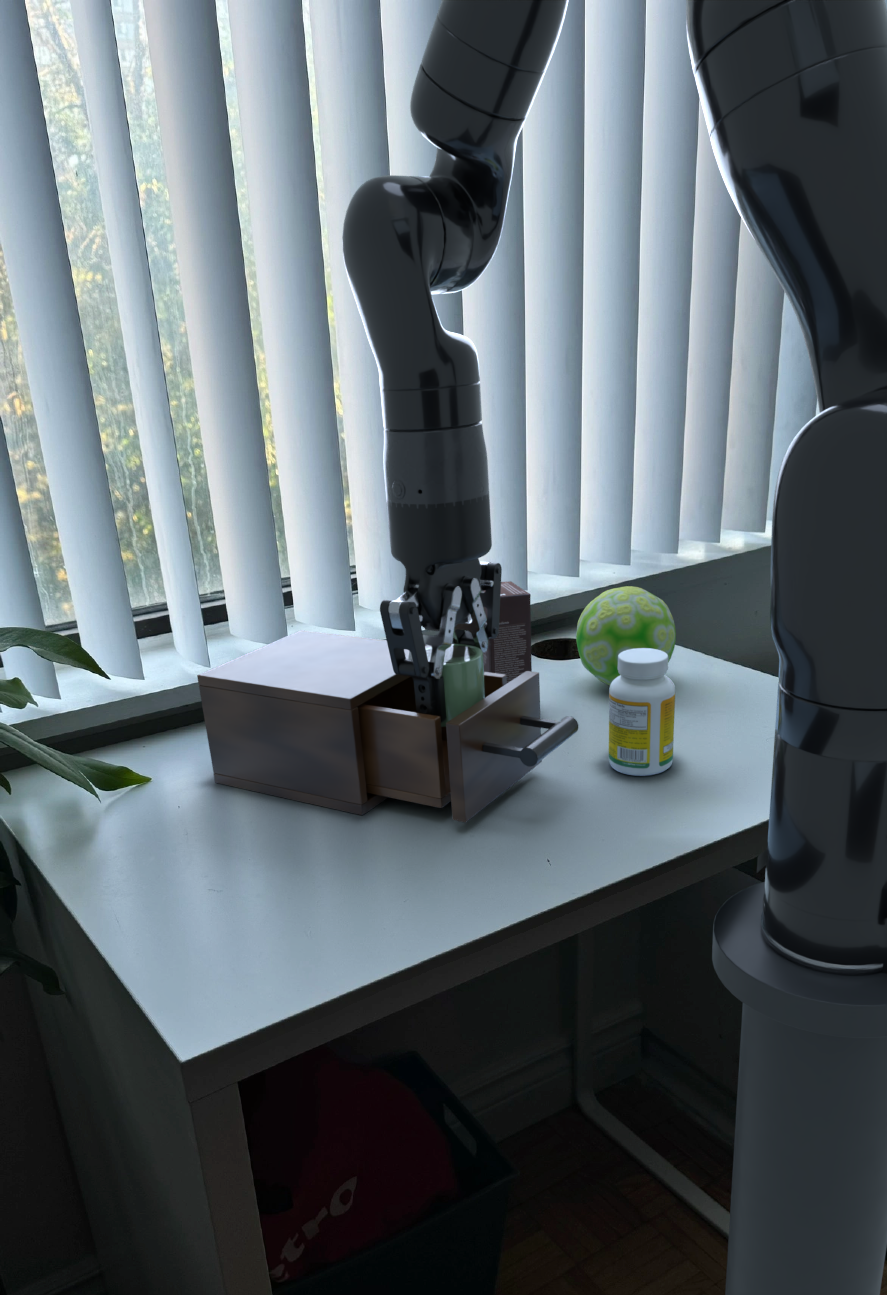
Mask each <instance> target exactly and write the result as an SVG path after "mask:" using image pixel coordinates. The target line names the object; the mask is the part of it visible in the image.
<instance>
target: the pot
mask: <svg viewBox="0 0 887 1295" xmlns="http://www.w3.org/2000/svg"><path fill="white" fill-rule="evenodd" d="M425 649H426V654H427V658H428V662H430V659H431V652H432V647H428V648H425ZM441 676H443V678H444V692H445V705H446V720H445V721H443V722H442V723H441V727H446V723H447V722H448V721H450V720H451V719H453V718H454V717H456V716H457V715H459V714H461V713H462V712H464V711H465V710H467V709H468V708H470V707H471V706H473V705H475V704H476V703H478V702H479V701H481V700H482V699H484V698H485V680H484V663H483V652H482V650H481V649H480V648H478V647H475V646H471V645H464V644H454V643H452V645H451V647H449V648H447V649H446V651H445V657H444V665H443V672H442V675H441Z"/></svg>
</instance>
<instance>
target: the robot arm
mask: <svg viewBox="0 0 887 1295" xmlns="http://www.w3.org/2000/svg"><path fill="white" fill-rule="evenodd" d="M568 4H569V0H441V1H440V4H439V7H438V10H437V13H436V16H435V19H434V21H433V25H432V28H431V31H430V34H429V37H428V40H427V42H426V45H425V49H424V51H423V55H422V58H421V62H420V65H419V67H418V70H417V73H416V76H415V79H414V84H413V87H412V91H411V96H410V104H409V109H410V110H409V111H410V117H411V120H412V122H413V125H414V127H415V128H416V129H417V131H418V132H419V133H420V135H421V136H422V137H424V138H425V139H426V140H427V141H428V142H429V143H431V144H432V145H433V146H434V147H436V154H435V160H434V164H433V168H432V170H431V172H430V174H429V176H419V175H417V176H416V175H415V176H414V175H394V174H393V175H392V174H391V175H390V174H389V175H388V174H385V175H379V176H376V177H372V178H370V179H368V180H366V181H365V182H364V183H362V184H361V185H360V186H359V187H358V188H357V189H356V191H355V192H354V193H353V195H352V197H351V198H350V201H349V203H348V206H347V209H346V212H345V215H344V220H343V227H342V237H341V243H342V244H341V245H342V257H343V262H344V268H345V271H346V275H347V279H348V283H349V286H350V288H351V293H352V294H353V298H354V300H355V303H356V306H357V310H358V313H359V315H360V318H361V322H362V324H363V327H364V331H365V334H366V338H367V340H368V343H369V346H370V348H371V351H372V354H373V356H374V359H375V362H376V366H377V370H378V376H379V378H378V380H379V388H380V402H381V415H382V424H383V452H382V453H383V454H382V455H383V456H382V457H383V458H382V461H383V463H382V464H383V465H382V466H383V478H384V485H385V486H384V488H385V501H386V512H387V521H388V522H387V523H388V532H389V533H388V534H389V544H390V545H389V546H390V553H391V556H392V557H393V558H394V560H396V561H398V562H399V563H401V564H402V566H403V567H404V569H405V577H404V583H403V592H402V594H401V595H400V596H398V597H397V598H396V599H395V600H394V599H383V600H381V602H380V605H379V612H380V617H381V622H382V626H383V631H384V636H385V640H387V644H388V649H389V653H390V658H391V662H392V667H393V671H394V673H395V674H398V675H405V676H411V677H412V678H413V681H414V692H415V699H416V700H415V704H416V713H422V714H428V715H434V716H440V719H441V723H442V722H443V721H445V720H446V705H445V692H444V678H443V676H441V675H442V672H443V665H444V657H445V651H446V649H447V648H449V647H451V645H452V644H464V645H471V646H475V647H478V648H480V649H481V650H482V652H486V650H487V648H488V640H489V639H490V638H494V639H495V638H496V637H497V636H498V633H499V615H500V595H501V582H502V572H503V569H502V565H501V563H500V562H492V561H480V558H482V557H485V556H486V555H487V554H489V552H490V551H491V549H492V546H493V541H492V540H493V539H492V520H491V502H490V483H489V482H490V481H489V480H490V479H489V464H488V462H489V460H488V452H487V446H486V441H485V435H484V428H483V422H482V420H483V415H482V414H483V413H482V395H481V382H480V381H481V377H480V376H481V374H480V362H479V356H478V355H479V354H478V351H477V348H476V346H475V344H474V342H473V340H471V339H470V338H469V337H467V336H465V335H462V334H461V333H456V332H452V331H449V330H446V329H445V328H444V327H443V325H442V322H441V319H440V317H439V314H438V311H437V308H436V305H435V302H434V298H433V295H444V294H445V295H446V294H452V293H453V294H455V293H458V292H460V291H464V290H466V289H467V288H469V287H470V286H471V285H473V284H475V282H476V281H477V280H478V279H479V278H480V277H481V276H482V274H483V273H484V272H485V270H486V269H487V268H488V266H489V265H490V263H491V261H492V260H493V257H494V256H495V253H496V251H497V249H498V247H499V246H498V245H499V243H500V240H501V237H502V232H503V228H504V223H505V216H506V212H507V205H508V200H509V194H510V188H511V184H512V178H513V172H514V164H515V156H516V150H517V144H518V138H519V136H520V133H521V131H522V129H523V127H524V125H525V122H526V120H527V119H528V115H529V113H530V111H531V108H532V106H533V104H534V101H535V98H536V96H537V93H538V91H539V89H540V87H541V84H542V82H543V80H544V76H545V74H546V72H547V69H548V67H549V65H550V62H551V59H552V57H553V54H554V53H555V49H556V47H557V44H558V41H559V38H560V35H561V33H562V30H563V24H564V22H565V18H566V13H567V9H568V6H569V5H568ZM685 23H686V24H685V26H686V39H687V45H688V52H689V56H690V57H689V58H690V60H691V61H690V62H691V67H692V73H693V76H694V79H695V84H696V87H697V92H698V96H699V100H700V103H701V108H702V112H703V115H704V116H703V117H704V120H705V124H706V127H707V132H708V136H709V139H710V144H711V148H712V151H713V155H714V157H715V160H716V163H717V166H718V169H719V172H720V175H721V177H722V180H723V182H724V185H725V187H726V189H727V192H728V193H729V195H730V198H731V200H732V201H733V204H734V206H735V208H736V210H737V212H738V214H739V216H740V217H741V219H742V221H743V223H744V224H745V226H746V228H747V230H748V232H749V233H750V235H751V237H752V238H753V240H754V242H755V244H756V246H757V247H758V249H759V251H760V252H761V254H762V256H763V257H764V259H765V261H766V262H767V264H768V266H769V267H770V269H771V271H772V272H773V274H774V276H775V277H776V279H777V281H778V283H779V284H780V286H781V288H782V290H783V291H784V293H785V295H786V297H787V299H788V301H789V304H790V306H791V308H792V310H793V311H794V315H795V316H796V319H797V322H798V325H799V328H800V331H801V333H802V336H803V340H804V343H805V347H806V351H807V354H808V359H809V364H810V369H811V373H812V378H813V382H814V383H813V384H814V388H815V393H816V394H815V395H816V399H817V405H818V410H819V413H818V414H817V415H815V416H813V417H812V418H811V419H810V420H809V421H807V422H806V424H804V425H803V426H802V427H801V429H799V431H798V432H797V433H796V435H795V436H794V437H793V439H792V440H791V442H790V443H789V445H788V447H787V449H786V451H785V453H784V455H783V458H782V460H781V464H780V466H779V470H778V474H777V479H776V481H775V482H776V483H775V489H774V493H773V494H774V496H773V503H772V515H771V516H772V518H771V536H770V537H771V538H770V540H771V541H770V542H771V543H770V544H771V545H770V583H769V584H770V589H769V591H770V592H769V594H770V595H769V620H770V621H769V623H770V632H771V636H772V640H773V643H774V645H775V649H776V651H777V654H778V661H779V662H778V683H777V694H776V696H777V697H776V710H775V711H776V712H775V713H776V714H775V726H774V728H775V729H774V739H773V754H772V769H771V770H772V771H771V786H770V799H769V800H770V801H769V814H768V832H767V845H766V849H764V850H763V851H762V852H761V853H760V854H758V856H757V863H756V864H757V865H756V873H759V872H760V871H761V870H762V869H763V868H764V867H765V874H764V877H765V879H764V882H765V890H764V898H763V912H762V915H761V926H760V929H761V934H762V936H763V939H764V940H765V942H766V943H767V944H768V946H769V947H770V948H771V949H773V950H774V951H775V952H776V953H777V954H779V955H780V956H782V957H783V958H785V959H787V960H789V961H791V962H793V963H795V964H798V965H800V966H803V967H806V968H809V969H812V970H816V971H820V972H825V973H830V974H838V975H870V974H877V973H885V974H887V3H886V0H685ZM484 591H485V592H484ZM483 607H486V608H487V618H486V614H485V611H484V608H483ZM486 621H487V623H485V622H486ZM422 628H423V629H424V630H425V631H433V632H438V633H437V634H435V635H431V634H423V630H422ZM425 646H431V647H432V652H431V659H430V662H428V658H427V654H426V649H425ZM404 649H407V650H409V657H408V659H406V657H405V652H404ZM483 663H484V660H483ZM484 680H485V677H484Z"/></svg>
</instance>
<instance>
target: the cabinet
mask: <svg viewBox="0 0 887 1295" xmlns="http://www.w3.org/2000/svg"><path fill="white" fill-rule="evenodd" d="M428 647H431V646H425V648H428ZM404 652H405V657H406V659H408V657H409V650H407V649H404ZM196 677H197V684H198V687H199V688H198V689H199V695H200V701H201V706H202V712H203V713H202V714H203V719H204V725H205V729H206V730H205V731H206V736H207V743H208V748H209V754H210V761H211V767H212V772H213V780H214V783H215V784H220V785H224V786H230V787H232V788H233V787H234V788H238V789H242V790H247V791H252V792H256V793H261V794H264V795H269V796H274V797H279V798H283V799H287V800H291V801H297V802H299V803H300V802H301V803H305V804H310V805H315V806H319V807H323V808H328V809H331V810H337V811H341V812H346V813H351V814H355V815H359V816H364V815H365V814H367V813H368V812H370V811H371V810H372V809H374V808H375V807H377V806H378V805H380V804H381V803H383V802H384V801H386V800H387V799H388V798H389V797H385V796H380V795H376V794H371V793H367V790H366V781H365V771H364V762H363V752H362V743H361V733H360V724H359V714H358V707H357V706H359V705H361V704H362V703H364V702H366V701H368V700H370V699H371V698H373V697H375V696H377V695H379V694H380V693H382V692H384V691H386V690H388V689H389V688H391V687H393V686H395V685H397V684H398V683H400V682H402V681H404V680H406V679H407V678H409V677H411V676H405V675H398V674H395V673H394V671H393V667H392V662H391V658H390V653H389V649H388V644H387V640H386V639H380V638H379V639H378V638H370V637H363V636H355V635H346V634H337V633H329V632H320V631H312V630H306V629H305V630H303V629H300V630H298V631H295V632H293V633H291V634H289V635H286V636H284V637H281V638H279V639H277V640H275V641H272V642H269V643H268V644H266V645H263V646H260V647H259V648H256V649H254V650H251V651H249V652H247V653H245V654H242V655H240V656H238V657H235V658H233V659H231V660H229V661H227V662H224V663H222V664H219V665H217V666H215V667H212V668H211V669H208V670H206V671H204V672H201V673H199V674H196Z"/></svg>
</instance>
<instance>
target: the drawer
mask: <svg viewBox="0 0 887 1295" xmlns="http://www.w3.org/2000/svg"><path fill="white" fill-rule="evenodd" d="M484 677H485V698H484V699H482V700H481V701H479V702H478V703H476V704H475V705H473V706H471V707H470V708H468V709H467V710H465V711H464V712H462V713H461V714H459V715H457V716H456V717H454V718H453V719H451V720H450V721H448V722H447V723H446V727H441V719H440V716H434V715H428V714H422V713H416V704H415V700H416V699H415V692H414V681H413V678H412V677H409V678H407V679H406V680H404V681H402V682H400V683H398V684H397V685H395V686H393V687H391V688H389V689H388V690H386V691H384V692H382V693H380V694H379V695H377V696H375V697H373V698H371V699H370V700H368V701H366V702H364V703H362V704H361V705H359V706H357V707H358V714H359V724H360V733H361V743H362V752H363V762H364V771H365V781H366V790H367V793H371V794H376V795H380V796H385V797H388V798H391V799H396V800H400V801H405V802H410V803H414V804H420V805H423V806H429V807H434V808H438V809H443V808H444V807H445V806H447V805H448V804H449V803H450V804H451V819H452V821H456V822H459V823H460V822H461V823H467V822H468V821H470V820H471V819H473V817H475V816H476V815H477V814H479V813H480V812H481V811H482V810H484V809H485V808H486V807H487V806H488V805H490V804H491V803H493V801H495V800H496V799H497V798H498V797H500V796H501V795H502V794H504V793H505V792H506V791H507V790H509V789H510V788H511V787H512V786H513V785H515V784H516V783H517V782H518V781H520V780H521V779H522V778H524V777H525V776H526V775H527V774H528V773H530V772H531V771H532V770H533V769H535V768H536V767H537V766H539V765H540V764H541V763H542V762H543V760H544V759H545V758H546V757H547V756H549V755H550V754H552V752H554V751H555V750H556V749H557V748H558V747H560V746H561V745H563V743H565V742H566V741H567V740H569V739H570V738H571V737H572V736H574V735H575V734H576V733H577V732H578V730H579V722H578V720H577V719H576V718H575V717H573V716H572V715H571V716H570V715H566V716H565V717H562V718H561V719H560V720H556V719H555V720H553V719H548V718H541V717H542V716H541V690H540V689H541V688H540V686H541V684H540V672H538V671H533V670H532V671H526V672H524V673H523V674H521V675H519V676H518V677H516V678H515V679H513V680H512V681H510V682H509V683H507V678H506V675H505V674H497V673H490V672H484ZM542 729H546V730H545V731H544V732H543V733H542Z"/></svg>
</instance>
